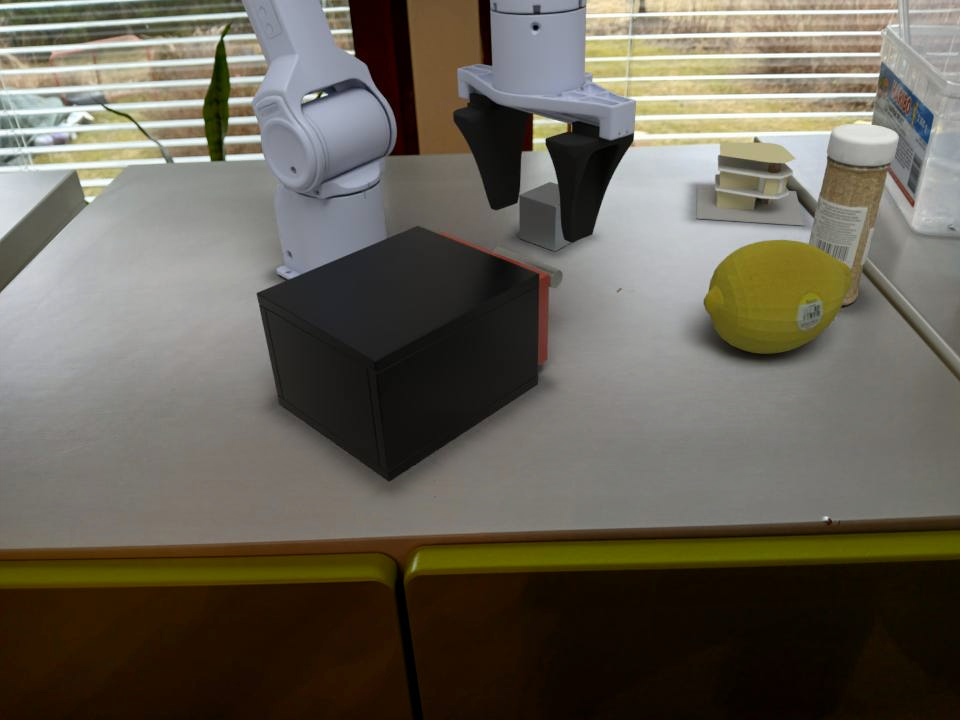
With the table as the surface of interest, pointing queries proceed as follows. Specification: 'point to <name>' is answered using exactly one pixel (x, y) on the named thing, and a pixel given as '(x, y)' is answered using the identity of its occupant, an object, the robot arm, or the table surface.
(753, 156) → the stacked layers on plate
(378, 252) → the black drawer cabinet
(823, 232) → the seasoning bottle
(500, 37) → the robot arm
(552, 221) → the steel block
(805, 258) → the lemon
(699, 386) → the table surface
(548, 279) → the red-fronted pull-out drawer
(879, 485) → the table surface
